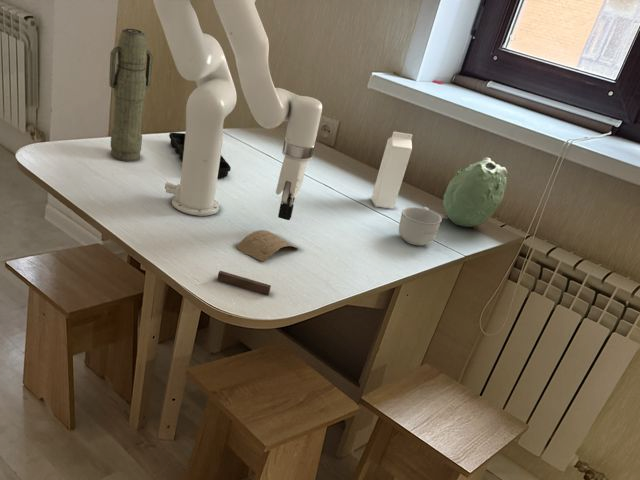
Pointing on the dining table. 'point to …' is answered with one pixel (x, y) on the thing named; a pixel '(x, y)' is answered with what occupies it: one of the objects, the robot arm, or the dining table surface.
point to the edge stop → (244, 282)
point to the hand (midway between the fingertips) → (284, 217)
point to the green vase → (475, 193)
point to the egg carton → (178, 144)
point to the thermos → (129, 93)
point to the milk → (392, 170)
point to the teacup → (419, 225)
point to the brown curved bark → (261, 244)
